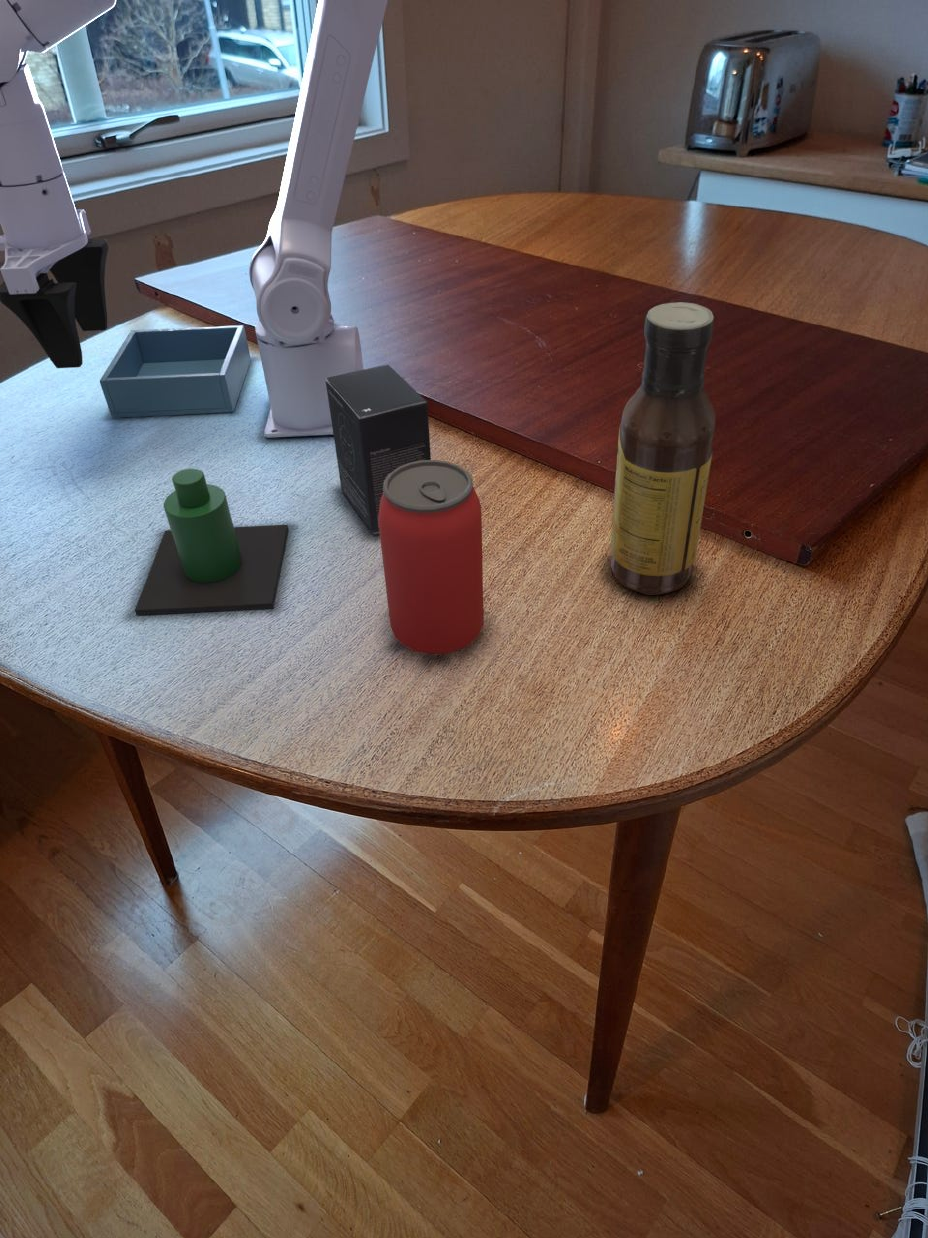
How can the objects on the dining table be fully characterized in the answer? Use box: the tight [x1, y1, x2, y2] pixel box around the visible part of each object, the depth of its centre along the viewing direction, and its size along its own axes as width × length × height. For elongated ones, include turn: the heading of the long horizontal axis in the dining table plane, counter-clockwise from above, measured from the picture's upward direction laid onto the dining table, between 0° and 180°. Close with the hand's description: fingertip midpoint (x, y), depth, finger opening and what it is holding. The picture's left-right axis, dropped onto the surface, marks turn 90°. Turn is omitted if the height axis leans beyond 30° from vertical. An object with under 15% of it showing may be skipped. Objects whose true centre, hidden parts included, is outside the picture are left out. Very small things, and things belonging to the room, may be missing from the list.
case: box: [99, 324, 252, 419], centre depth 88 cm, size 12×12×4 cm
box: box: [325, 363, 432, 535], centre depth 68 cm, size 8×6×11 cm
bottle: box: [163, 467, 242, 583], centre depth 63 cm, size 4×4×8 cm
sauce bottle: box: [609, 301, 717, 596], centre depth 57 cm, size 6×6×20 cm
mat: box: [134, 524, 289, 616], centre depth 65 cm, size 10×10×1 cm
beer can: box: [378, 459, 485, 656], centre depth 56 cm, size 7×7×12 cm
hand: (82, 346), depth 74 cm, fingers open, 7 cm apart
